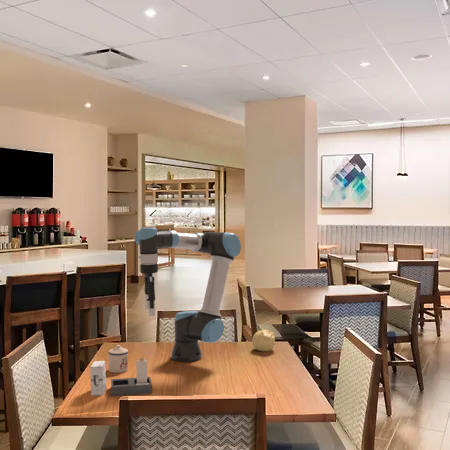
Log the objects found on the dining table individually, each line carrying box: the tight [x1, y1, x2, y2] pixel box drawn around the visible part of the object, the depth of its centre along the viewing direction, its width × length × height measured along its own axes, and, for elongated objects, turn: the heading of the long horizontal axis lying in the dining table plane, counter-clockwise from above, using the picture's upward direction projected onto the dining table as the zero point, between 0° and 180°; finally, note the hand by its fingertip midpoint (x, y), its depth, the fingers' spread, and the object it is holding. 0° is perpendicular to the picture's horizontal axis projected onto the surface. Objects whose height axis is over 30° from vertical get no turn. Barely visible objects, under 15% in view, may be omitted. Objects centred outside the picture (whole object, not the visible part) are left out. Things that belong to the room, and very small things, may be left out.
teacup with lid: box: [107, 344, 129, 374], centre depth 244 cm, size 12×9×12 cm
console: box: [110, 376, 153, 397], centre depth 214 cm, size 16×10×4 cm, turn 102°
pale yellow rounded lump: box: [252, 329, 276, 352], centre depth 278 cm, size 12×12×11 cm
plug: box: [136, 355, 148, 384], centre depth 215 cm, size 4×4×14 cm
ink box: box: [89, 360, 107, 396], centre depth 213 cm, size 9×5×12 cm, turn 5°
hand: (150, 312), depth 228 cm, fingers open, 13 cm apart
